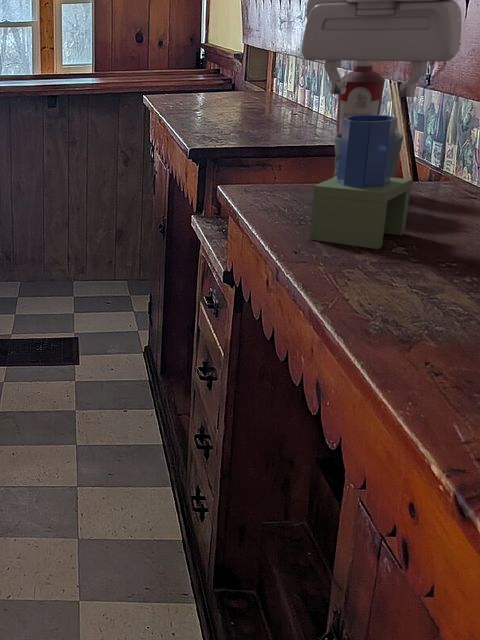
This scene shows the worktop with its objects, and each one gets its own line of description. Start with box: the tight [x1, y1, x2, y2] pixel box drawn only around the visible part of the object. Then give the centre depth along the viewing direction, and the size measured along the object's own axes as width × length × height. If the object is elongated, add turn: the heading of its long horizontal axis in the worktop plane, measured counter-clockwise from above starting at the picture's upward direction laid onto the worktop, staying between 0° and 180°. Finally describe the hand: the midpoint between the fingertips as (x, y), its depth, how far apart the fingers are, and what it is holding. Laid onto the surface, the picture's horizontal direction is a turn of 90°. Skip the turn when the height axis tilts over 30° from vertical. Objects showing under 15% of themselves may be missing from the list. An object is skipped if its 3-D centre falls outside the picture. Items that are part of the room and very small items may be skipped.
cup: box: [337, 114, 398, 188], centre depth 123 cm, size 7×7×9 cm
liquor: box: [332, 61, 386, 178], centre depth 150 cm, size 7×7×28 cm
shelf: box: [309, 176, 412, 250], centre depth 126 cm, size 10×10×8 cm
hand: (371, 95), depth 120 cm, fingers open, 8 cm apart
